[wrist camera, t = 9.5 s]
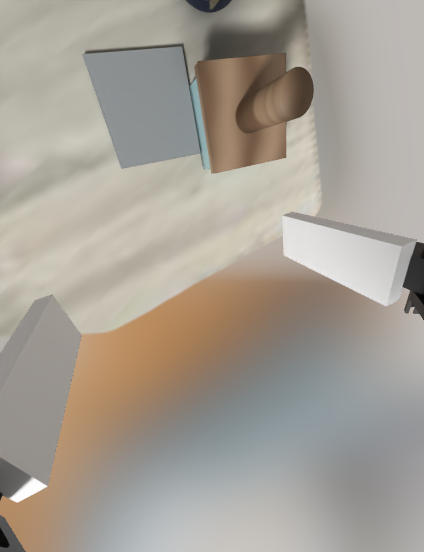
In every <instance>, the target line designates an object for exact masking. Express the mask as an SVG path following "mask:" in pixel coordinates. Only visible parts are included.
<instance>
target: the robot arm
mask: <svg viewBox="0 0 424 552" xmlns="http://www.w3.org/2000/svg"><path fill="white" fill-rule="evenodd" d="M282 221H283V246H284V256H286V257H288V258H290V259H292V260H294V261H296V262H298V263H300V264H302V265H304V266H306V267H308V268H310V269H312V270H314V271H316V272H318V273H320V274H322V275H324V276H327V277H328V278H330V279H332V280H334V281H336V282H338V283H341V284H342V285H344V286H347V287H348V288H350V289H353V290H354V291H356V292H359V293H360V294H363V295H364V296H366V297H368V298H371V299H372V300H374V301H376V302H378V303H380V304H382V305H385V306H388V305H390V304H392V303H394V302H396V301H398V300H399V299H400V295H401V292H402V288H403V287H404V288H407V289H409V290H410V294H409V296H408V300H407V303H406V306H405V309H404V311H405V313H409V310H410V307H415V309H414V311H413V313H414V314H420V315H421V317H422V318H423V320H424V243H419V242H416V240H415V239H411V238H406V237H402V236H398V235H393V234H389V233H384V232H379V231H375V230H371V229H366V228H361V227H357V226H353V225H348V224H344V223H340V222H335V221H331V220H326V219H322V218H317V217H313V216H308V215H304V214H299V213H295V212H291V213H288V214H285V215H282ZM80 340H81V334H80V332H79V331H78V330H77V328H76V327H75V325H74V324H73V323H72V321H71V320H70V318H69V317H68V316H67V314H66V313H65V311H64V310H63V309H62V307H61V306H60V304H59V303H58V302H57V300H56V299H55V297H54V296H53V295H49V296H47V297H44V298H41V299H38V300H35V301H34V303H33V304H32V306H31V307H30V309H29V310H28V312H27V313H26V315H25V316H24V318H23V319H22V321H21V322H20V324H19V326H18V327H17V329H16V330H15V332H14V333H13V335H12V336H11V338H10V339H9V341H8V342H7V344H6V346H5V347H4V349H3V350H2V352H1V353H0V500H1V497H2V495H3V496H5V497H7V498H9V499H11V500H13V501H15V502H19V501H21V500H23V499H25V498H27V497H29V496H31V495H32V494H34V493H36V492H38V491H40V490H41V489H44V488H45V487H47V486H48V483H49V479H50V474H51V470H52V465H53V461H54V456H55V452H56V447H57V443H58V439H59V434H60V429H61V425H62V421H63V416H64V412H65V407H66V403H67V398H68V394H69V390H70V385H71V381H72V376H73V372H74V367H75V363H76V358H77V354H78V349H79V345H80ZM0 552H25V550H24V549H23V547H22V545H21V544H20V542H19V541H18V539H17V537H16V536H15V534H14V532H13V531H12V529H11V528H10V526H9V524H8V523H7V521H6V519H5V518H4V517H2V516H1V515H0Z"/></svg>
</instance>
